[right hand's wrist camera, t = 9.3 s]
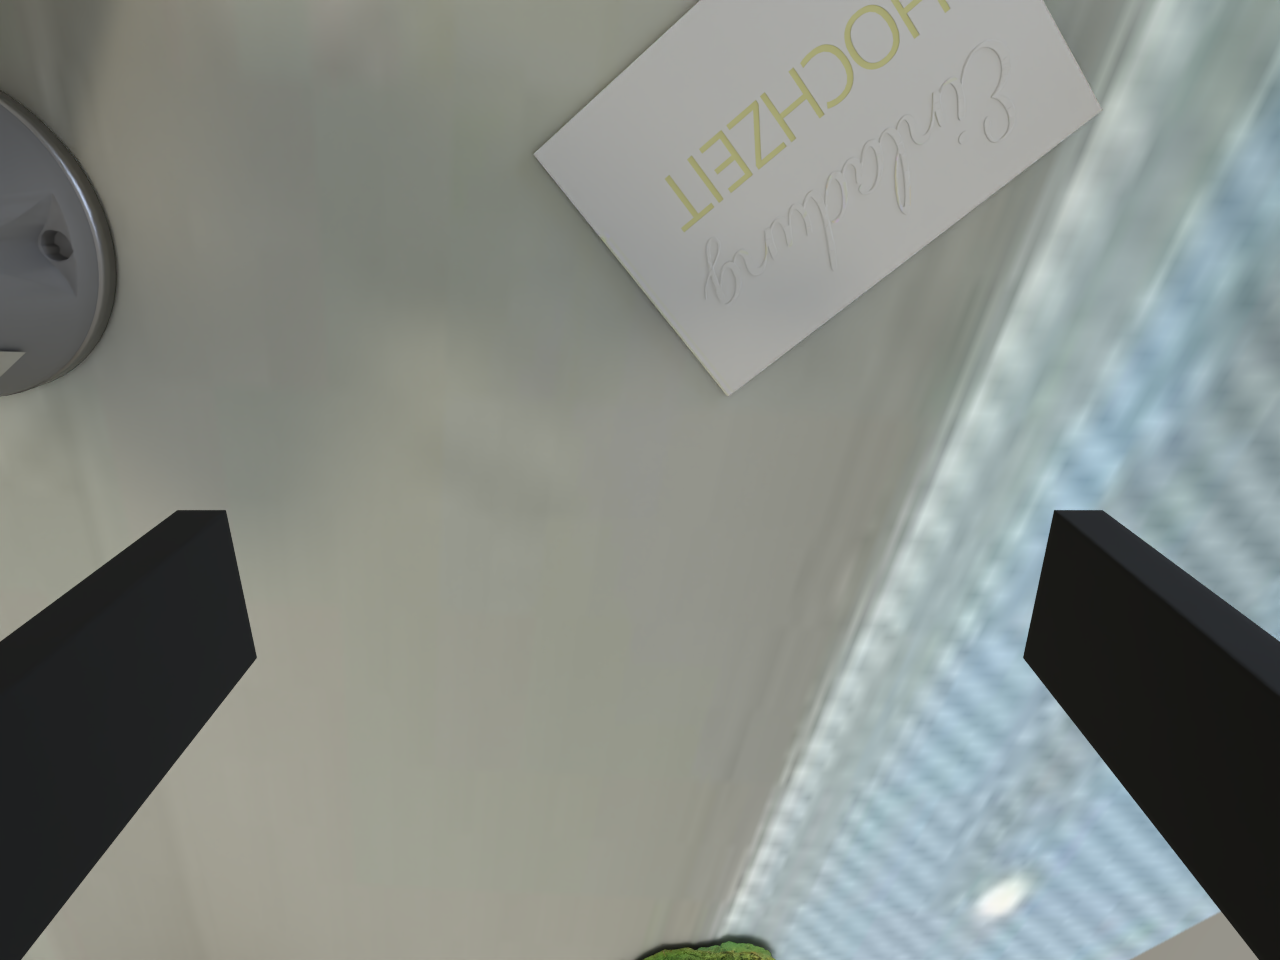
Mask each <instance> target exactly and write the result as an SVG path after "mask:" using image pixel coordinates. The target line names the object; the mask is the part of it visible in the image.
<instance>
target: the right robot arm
mask: <svg viewBox="0 0 1280 960" xmlns="http://www.w3.org/2000/svg"><path fill="white" fill-rule="evenodd" d="M115 289H116V265H115V255H114V248H113V242H112V238H111V234H110V231H109V227H108V224H107V221H106V218H105V215H104V212H103V209H102V207H101V205H100V203H99V200H98V198H97V196H96V194H95V192H94V190H93V188H92V186H91V185H90V183H89V181H88V179H87V177H86V176H85V174H84V173H83V171H82V170H81V168H80V166H79V165H78V163H77V162H76V160H75V159H74V158H73V157H72V155H71V154H70V153H69V151H68V150H67V149H66V147H65V146H64V145H63V144H62V143H61V142H60V141H59V139H58V138H57V137H56V136H55V135H54V134H53V133H52V132H51V131H50V130H49V129H48V128H47V127H46V126H45V125H44V124H43V123H42V122H41V121H40V120H39V119H38V118H37V117H36V116H34V115H33V114H32V113H31V112H30V111H28V110H27V109H26V108H25V107H23V106H22V105H21V104H19V103H18V102H17V101H15V100H14V99H12V98H11V97H9V96H8V95H7V94H5V93H3V92H2V91H0V396H7V395H12V394H16V393H20V392H23V391H26V390H29V389H32V388H35V387H37V386H40V385H43V384H46V383H48V382H51V381H53V380H55V379H57V378H59V377H61V376H63V375H64V374H66V373H68V372H69V371H71V370H72V369H74V368H75V367H76V366H77V365H78V364H79V363H81V362H82V361H83V360H84V359H85V358H86V357H87V356H88V354H89V353H90V352H91V351H92V350H93V348H94V347H95V346H96V344H97V343H98V341H99V340H100V338H101V336H102V334H103V332H104V330H105V328H106V326H107V323H108V320H109V318H110V315H111V311H112V307H113V303H114V296H115ZM256 658H257V656H256V652H255V647H254V642H253V637H252V633H251V628H250V623H249V618H248V614H247V609H246V604H245V599H244V595H243V590H242V585H241V580H240V575H239V571H238V566H237V561H236V556H235V552H234V547H233V542H232V537H231V533H230V528H229V523H228V518H227V514H226V510H177V511H176V512H175V513H173V514H172V515H171V516H169V517H168V518H166V519H165V520H164V521H162V522H161V523H160V524H158V525H157V526H156V527H154V528H153V529H152V530H150V531H149V532H148V533H146V534H145V535H144V536H142V537H141V538H139V539H138V540H137V541H135V542H134V543H133V544H131V545H130V546H129V547H127V548H126V549H125V550H123V551H122V552H121V553H119V554H118V555H117V556H115V557H114V558H113V559H111V560H110V561H108V562H107V563H106V564H104V565H103V566H102V567H100V568H99V569H98V570H96V571H95V572H94V573H92V574H91V575H90V576H88V577H87V578H86V579H84V580H83V581H82V582H80V583H79V584H77V585H76V586H75V587H73V588H72V589H71V590H69V591H68V592H67V593H65V594H64V595H63V596H61V597H60V598H59V599H57V600H56V601H55V602H53V603H52V604H51V605H49V606H48V607H46V608H45V609H44V610H42V611H41V612H40V613H38V614H37V615H36V616H34V617H33V618H32V619H30V620H29V621H28V622H26V623H25V624H24V625H22V626H21V627H20V628H18V629H17V630H15V631H14V632H13V633H11V634H10V635H9V636H7V637H6V638H5V639H3V640H2V641H1V642H0V960H21V959H22V958H23V956H24V955H25V954H26V953H27V951H28V950H29V949H30V947H31V946H32V945H33V944H34V942H35V941H36V940H37V938H38V937H39V936H40V935H41V933H42V932H43V931H44V930H45V928H46V927H47V926H48V924H49V923H50V922H51V921H52V919H53V918H54V917H55V915H56V914H57V913H58V912H59V910H60V909H61V908H62V906H63V905H64V904H65V903H66V901H67V900H68V899H69V898H70V896H71V895H72V894H73V892H74V891H75V890H76V889H77V887H78V886H79V885H80V883H81V882H82V881H83V880H84V878H85V877H86V876H87V874H88V873H89V872H90V871H91V869H92V868H93V867H94V866H95V864H96V863H97V862H98V860H99V859H100V858H101V857H102V855H103V854H104V853H105V851H106V850H107V849H108V848H109V846H110V845H111V844H112V842H113V841H114V840H115V839H116V837H117V836H118V835H119V834H120V832H121V831H122V830H123V828H124V827H125V826H126V825H127V823H128V822H129V821H130V819H131V818H132V817H133V816H134V814H135V813H136V812H137V810H138V809H139V808H140V807H141V805H142V804H143V803H144V802H145V800H146V799H147V798H148V796H149V795H150V794H151V793H152V791H153V790H154V789H155V787H156V786H157V785H158V784H159V782H160V781H161V780H162V778H163V777H164V776H165V775H166V773H167V772H168V771H169V770H170V768H171V767H172V766H173V764H174V763H175V762H176V761H177V759H178V758H179V757H180V755H181V754H182V753H183V752H184V750H185V749H186V748H187V746H188V745H189V744H190V743H191V741H192V740H193V739H194V738H195V736H196V735H197V734H198V732H199V731H200V730H201V729H202V727H203V726H204V725H205V723H206V722H207V721H208V720H209V718H210V717H211V716H212V714H213V713H214V712H215V711H216V709H217V708H218V707H219V706H220V704H221V703H222V702H223V700H224V699H225V698H226V697H227V695H228V694H229V693H230V691H231V690H232V689H233V688H234V686H235V685H236V684H237V682H238V681H239V680H240V679H241V677H242V676H243V675H244V674H245V672H246V671H247V670H248V668H249V667H250V666H251V665H252V663H253V662H254V661H255V659H256ZM1023 658H1024V659H1025V661H1026V662H1027V663H1028V665H1029V666H1030V667H1031V668H1032V670H1033V671H1034V672H1035V674H1036V675H1037V676H1038V677H1039V679H1040V680H1041V681H1042V682H1043V684H1044V685H1045V686H1046V688H1047V689H1048V690H1049V691H1050V693H1051V694H1052V695H1053V697H1054V698H1055V699H1056V700H1057V702H1058V703H1059V704H1060V706H1061V707H1062V708H1063V709H1064V711H1065V712H1066V713H1067V714H1068V716H1069V717H1070V718H1071V720H1072V721H1073V722H1074V723H1075V725H1076V726H1077V727H1078V729H1079V730H1080V731H1081V732H1082V734H1083V735H1084V736H1085V738H1086V739H1087V740H1088V741H1089V743H1090V744H1091V745H1092V746H1093V748H1094V749H1095V750H1096V752H1097V753H1098V754H1099V755H1100V757H1101V758H1102V759H1103V761H1104V762H1105V763H1106V764H1107V766H1108V767H1109V768H1110V770H1111V771H1112V772H1113V773H1114V775H1115V776H1116V777H1117V778H1118V780H1119V781H1120V782H1121V784H1122V785H1123V786H1124V787H1125V789H1126V790H1127V791H1128V793H1129V794H1130V795H1131V796H1132V798H1133V799H1134V800H1135V802H1136V803H1137V804H1138V805H1139V807H1140V808H1141V809H1142V810H1143V812H1144V813H1145V814H1146V816H1147V817H1148V818H1149V819H1150V821H1151V822H1152V823H1153V825H1154V826H1155V827H1156V828H1157V830H1158V831H1159V832H1160V834H1161V835H1162V836H1163V837H1164V839H1165V840H1166V841H1167V842H1168V844H1169V845H1170V846H1171V848H1172V849H1173V850H1174V851H1175V853H1176V854H1177V855H1178V857H1179V858H1180V859H1181V860H1182V862H1183V863H1184V864H1185V866H1186V867H1187V868H1188V869H1189V871H1190V872H1191V873H1192V874H1193V876H1194V877H1195V878H1196V880H1197V881H1198V882H1199V883H1200V885H1201V886H1202V887H1203V889H1204V890H1205V891H1206V892H1207V894H1208V895H1209V896H1210V898H1211V899H1212V900H1213V901H1214V903H1215V904H1216V905H1217V906H1218V908H1219V909H1220V910H1221V912H1222V913H1223V914H1224V915H1225V917H1226V918H1227V919H1228V921H1229V922H1230V923H1231V924H1232V926H1233V927H1234V928H1235V930H1236V931H1237V932H1238V933H1239V935H1240V936H1241V937H1242V938H1243V940H1244V941H1245V942H1246V944H1247V945H1248V946H1249V947H1250V949H1251V950H1252V951H1253V953H1254V954H1255V955H1256V956H1257V958H1258V959H1259V960H1280V642H1279V641H1278V640H1277V639H1275V638H1274V637H1273V636H1271V635H1270V634H1269V633H1267V632H1266V631H1265V630H1263V629H1262V628H1260V627H1259V626H1258V625H1256V624H1255V623H1254V622H1252V621H1251V620H1250V619H1248V618H1247V617H1246V616H1244V615H1243V614H1242V613H1240V612H1239V611H1238V610H1236V609H1235V608H1234V607H1232V606H1231V605H1229V604H1228V603H1227V602H1225V601H1224V600H1223V599H1221V598H1220V597H1219V596H1217V595H1216V594H1215V593H1213V592H1212V591H1211V590H1209V589H1208V588H1207V587H1205V586H1204V585H1203V584H1201V583H1200V582H1198V581H1197V580H1196V579H1194V578H1193V577H1192V576H1190V575H1189V574H1188V573H1186V572H1185V571H1184V570H1182V569H1181V568H1180V567H1178V566H1177V565H1176V564H1174V563H1173V562H1172V561H1170V560H1169V559H1167V558H1166V557H1165V556H1163V555H1162V554H1161V553H1159V552H1158V551H1157V550H1155V549H1154V548H1153V547H1151V546H1150V545H1149V544H1147V543H1146V542H1145V541H1143V540H1142V539H1141V538H1139V537H1138V536H1136V535H1135V534H1134V533H1132V532H1131V531H1130V530H1128V529H1127V528H1126V527H1124V526H1123V525H1122V524H1120V523H1119V522H1118V521H1116V520H1115V519H1114V518H1112V517H1111V516H1109V515H1108V514H1107V513H1105V512H1104V511H1103V510H1054V514H1053V518H1052V523H1051V528H1050V533H1049V537H1048V542H1047V547H1046V552H1045V556H1044V561H1043V566H1042V571H1041V575H1040V580H1039V585H1038V590H1037V595H1036V599H1035V604H1034V609H1033V614H1032V618H1031V623H1030V628H1029V633H1028V637H1027V642H1026V647H1025V652H1024V656H1023Z"/></svg>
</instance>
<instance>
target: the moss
mask: <svg viewBox="0 0 1280 960" xmlns="http://www.w3.org/2000/svg"><path fill="white" fill-rule="evenodd" d="M643 960H775V959H774V958H772V957H771V953H770V952H769V950H765V949H764V948H762V947H758V946H754V945H753V944H749V943H748V944H745V943H738V944H737V943H734V942H731V941H728V942H726V943H722V944H721V946H718V945H714V946H712V947H708V948H705V947H704V948H703V947H701V948H699V949H698V950H693V949H691V948H682V949H675V950H662V951H660V952H658V953H656V954H654V955H652V956H650V957H647V958H645V959H643Z"/></svg>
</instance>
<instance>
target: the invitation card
mask: <svg viewBox="0 0 1280 960" xmlns="http://www.w3.org/2000/svg"><path fill="white" fill-rule="evenodd" d="M1102 110H1103V109H1102V107H1101V106H1100V104H1099V102H1098V100H1097V98H1096V96H1095V95H1094V93H1093V91H1092V89H1091V87H1090V85H1089V84H1088V82H1087V80H1086V78H1085V76H1084V74H1083V73H1082V71H1081V69H1080V67H1079V65H1078V63H1077V62H1076V60H1075V58H1074V56H1073V54H1072V53H1071V51H1070V49H1069V47H1068V45H1067V43H1066V42H1065V40H1064V38H1063V36H1062V34H1061V32H1060V31H1059V29H1058V27H1057V25H1056V23H1055V21H1054V20H1053V18H1052V16H1051V14H1050V12H1049V10H1048V9H1047V7H1046V5H1045V3H1044V1H1043V0H700V1H699V2H698V3H697V4H696V5H694V6H693V7H692V8H691V9H690V10H689V11H688V12H687V13H686V14H685V15H684V16H683V17H681V18H680V19H679V20H678V21H677V22H676V23H675V24H674V25H673V26H672V27H671V28H670V29H668V30H667V31H666V32H665V33H664V34H663V35H662V36H661V37H660V38H659V39H658V40H656V41H655V42H654V43H653V44H652V45H651V46H650V47H649V48H648V49H647V50H646V51H645V52H643V53H642V54H641V55H640V56H639V57H638V58H637V59H636V60H635V61H634V62H633V63H632V64H630V65H629V66H628V67H627V68H626V69H625V70H624V71H623V72H622V73H621V74H620V75H619V76H617V77H616V78H615V79H614V80H613V81H612V82H611V83H610V84H609V85H608V86H607V87H605V88H604V89H603V90H602V91H601V92H600V93H599V94H598V95H597V96H596V97H595V98H594V99H592V100H591V101H590V102H589V103H588V104H587V105H586V106H585V107H584V108H583V109H582V110H581V111H579V112H578V113H577V114H576V115H575V116H574V117H573V118H572V119H571V120H570V121H569V122H567V123H566V124H565V125H564V126H563V127H562V128H561V129H560V130H559V131H558V132H557V133H556V134H554V135H553V136H552V137H551V138H550V139H549V140H548V141H547V142H546V143H545V144H544V145H543V146H541V147H540V148H539V149H538V150H537V151H536V152H535V153H534V156H535V157H536V158H537V159H538V161H539V162H540V163H541V164H542V166H543V167H544V168H545V169H546V171H547V172H548V173H549V174H550V176H551V177H552V178H553V179H554V181H555V182H556V183H557V184H558V186H559V187H560V188H561V189H562V191H563V192H564V193H565V194H566V196H567V197H568V198H569V199H570V201H571V202H572V203H573V204H574V206H575V207H576V208H577V209H578V211H579V212H580V213H581V214H582V216H583V217H584V218H585V219H586V221H587V222H588V223H589V224H590V225H591V227H592V228H593V229H594V230H595V232H596V233H597V234H598V235H599V237H600V238H601V239H602V240H603V242H604V243H605V244H606V245H607V247H608V248H609V249H610V250H611V252H612V253H613V254H614V255H615V257H616V258H617V259H618V260H619V262H620V263H621V264H622V265H623V267H624V268H625V269H626V270H627V272H628V273H629V274H630V275H631V277H632V278H633V279H634V280H635V282H636V283H637V284H638V285H639V287H640V288H641V289H642V290H643V292H644V293H645V294H646V295H647V297H648V298H649V299H650V300H651V302H652V303H653V304H654V305H655V307H656V308H657V309H658V310H659V312H660V313H661V314H662V315H663V317H664V318H665V319H666V320H667V322H668V323H669V324H670V325H671V327H672V328H673V329H674V330H675V332H676V333H677V334H678V335H679V337H680V338H681V339H682V340H683V341H684V343H685V344H686V345H687V346H688V348H689V349H690V350H691V351H692V353H693V354H694V355H695V356H696V358H697V359H698V360H699V361H700V363H701V364H702V365H703V366H704V368H705V369H706V370H707V371H708V373H709V374H710V375H711V376H712V378H713V379H714V380H715V381H716V383H717V384H718V385H719V386H720V388H721V389H722V390H723V391H724V393H725V394H726V395H727V396H728V397H729V396H730V395H731V394H733V393H734V392H735V391H737V390H738V389H739V388H740V387H742V386H743V385H744V384H746V383H747V382H748V381H750V380H751V379H752V378H753V377H755V376H756V375H757V374H759V373H760V372H761V371H763V370H764V369H765V368H767V367H768V366H769V365H770V364H772V363H773V362H774V361H776V360H777V359H778V358H780V357H781V356H782V355H784V354H785V353H786V352H787V351H789V350H790V349H791V348H793V347H794V346H795V345H797V344H798V343H799V342H800V341H802V340H803V339H804V338H806V337H807V336H808V335H810V334H811V333H812V332H814V331H815V330H816V329H817V328H819V327H820V326H821V325H823V324H824V323H825V322H827V321H828V320H829V319H831V318H832V317H833V316H834V315H836V314H837V313H838V312H840V311H841V310H842V309H844V308H845V307H846V306H847V305H849V304H850V303H851V302H853V301H854V300H855V299H857V298H858V297H859V296H861V295H862V294H863V293H864V292H866V291H867V290H868V289H870V288H871V287H872V286H874V285H875V284H876V283H878V282H879V281H880V280H881V279H883V278H884V277H885V276H887V275H888V274H889V273H891V272H892V271H893V270H894V269H896V268H897V267H898V266H900V265H901V264H902V263H904V262H905V261H906V260H908V259H909V258H910V257H911V256H913V255H914V254H915V253H917V252H918V251H919V250H921V249H922V248H923V247H924V246H926V245H927V244H928V243H930V242H931V241H932V240H934V239H935V238H936V237H938V236H939V235H940V234H941V233H943V232H944V231H945V230H947V229H948V228H949V227H951V226H952V225H953V224H955V223H956V222H957V221H958V220H960V219H961V218H962V217H964V216H965V215H966V214H968V213H969V212H970V211H971V210H973V209H974V208H975V207H977V206H978V205H979V204H981V203H982V202H983V201H985V200H986V199H987V198H988V197H990V196H991V195H992V194H994V193H995V192H996V191H998V190H999V189H1000V188H1002V187H1003V186H1004V185H1005V184H1007V183H1008V182H1009V181H1011V180H1012V179H1013V178H1015V177H1016V176H1017V175H1018V174H1020V173H1021V172H1022V171H1024V170H1025V169H1026V168H1028V167H1029V166H1030V165H1032V164H1033V163H1034V162H1035V161H1037V160H1038V159H1039V158H1041V157H1042V156H1043V155H1045V154H1046V153H1047V152H1049V151H1050V150H1051V149H1052V148H1054V147H1055V146H1056V145H1058V144H1059V143H1060V142H1062V141H1063V140H1064V139H1065V138H1067V137H1068V136H1069V135H1071V134H1072V133H1073V132H1075V131H1076V130H1077V129H1079V128H1080V127H1081V126H1082V125H1084V124H1085V123H1086V122H1088V121H1089V120H1090V119H1092V118H1093V117H1094V116H1096V115H1097V114H1098V113H1099V112H1101V111H1102Z"/></svg>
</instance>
